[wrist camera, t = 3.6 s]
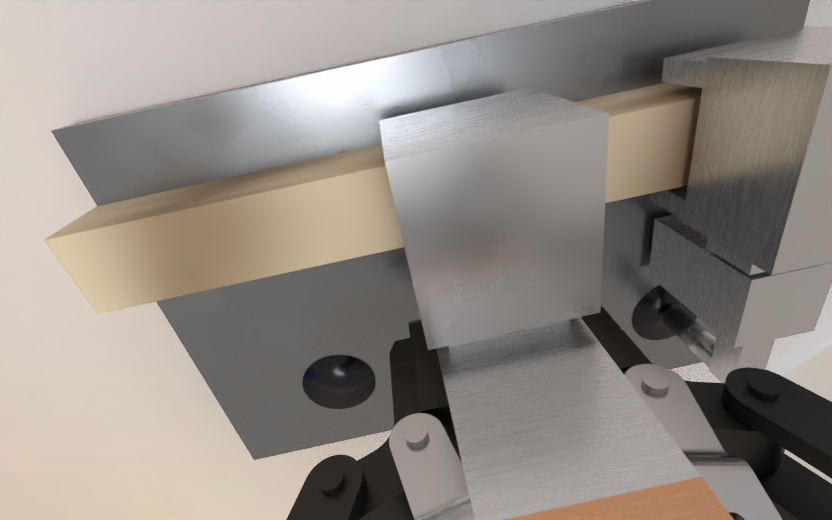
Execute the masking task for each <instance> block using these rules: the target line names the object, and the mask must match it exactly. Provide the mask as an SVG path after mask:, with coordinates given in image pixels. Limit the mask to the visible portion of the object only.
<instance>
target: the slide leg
mask: <svg viewBox="0 0 832 520" xmlns="http://www.w3.org/2000/svg"><path fill="white" fill-rule="evenodd" d="M379 123H380V132H381V139H382V146H383V153H384V160H385V165H386V169H387V174H388V178H389V182H390V187H391V191H392V195H393V200H394V204H395V208H396V213H397V217H398V222H399V226H400V230H401V235H402V239H403V243H404V248H405V252H406V256H407V261H408V265H409V269H410V274H411V278H412V282H413V287H414V291H415V296H416V300H417V304H418V309H419V313H420V317H421V322H422V326H423V330H424V335H425V339H426V343H427V348H428V350H431V349H437V353H438V358H439V362H440V367H441V371H442V376H443V380H444V385H445V389H446V394H447V398H448V403H449V407H450V412H451V417H452V421H453V426H454V431H455V435H456V440H457V444H458V449H459V454H460V458H461V463H462V465H463V470H464V474H465V479H466V483H467V488H468V492H469V497H470V501H471V505H472V509H473V514H474V518H475V520H734V519H733V518H732V516H731V515H730V514H729V512H728V511H727V510H726V508H725V507H724V506H723V504H722V503H721V502H720V500H719V499H718V498H717V496H716V495H715V494H714V493H713V491H712V490H711V489H710V487H709V486H708V485H707V483H706V482H705V481H704V479H703V478H702V477H701V475H700V474H699V473H698V471H697V470H696V469H695V468H694V466H693V465H692V464H691V462H690V461H689V460H688V458H687V457H686V456H685V454H684V453H683V452H682V450H681V449H680V448H679V446H678V445H677V444H676V442H675V441H674V440H673V439H672V437H671V436H670V435H669V433H668V432H667V431H666V429H665V428H664V427H663V425H662V424H661V423H660V421H659V420H658V419H657V417H656V416H655V415H654V413H653V412H652V411H651V410H650V408H649V407H648V406H647V404H646V403H645V402H644V400H643V399H642V398H641V396H640V395H639V394H638V392H637V391H636V390H635V388H634V387H633V386H632V384H631V383H630V382H629V381H628V379H627V378H626V377H625V375H624V374H623V373H622V371H621V370H620V369H619V367H618V366H617V365H616V363H615V362H614V361H613V359H612V358H611V357H610V355H609V354H608V353H607V352H606V350H605V349H604V348H603V346H602V345H601V344H600V342H599V341H598V340H597V338H596V337H595V336H594V334H593V333H592V332H591V330H590V329H589V328H588V326H587V325H586V324H585V323H584V321H583V320H582V319H581V317H582V316H587V315H591V314H596V313H600V309H601V286H602V263H603V241H604V218H605V195H606V172H607V150H608V127H609V113H607V112H604V111H600V110H597V109H594V108H591V107H588V106H585V105H582V104H579V103H576V102H572V101H569V100H566V99H563V98H560V97H557V96H554V95H551V94H548V93H539V94H535V93H532V92H529V91H526V90H523V89H520V90H516V91H511V92H507V93H502V94H497V95H493V96H488V97H484V98H479V99H474V100H470V101H465V102H461V103H456V104H451V105H447V106H442V107H438V108H433V109H429V110H424V111H419V112H415V113H410V114H406V115H401V116H396V117H392V118H387V119H383V120H379Z"/></svg>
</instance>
